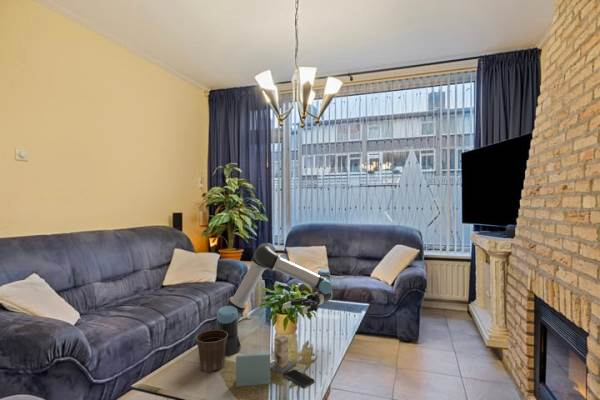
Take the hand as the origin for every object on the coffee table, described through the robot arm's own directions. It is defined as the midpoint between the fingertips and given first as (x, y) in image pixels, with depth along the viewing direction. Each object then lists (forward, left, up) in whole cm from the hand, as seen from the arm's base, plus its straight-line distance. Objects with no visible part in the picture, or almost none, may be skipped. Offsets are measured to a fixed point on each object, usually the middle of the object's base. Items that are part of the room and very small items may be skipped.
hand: (292, 309), depth 186 cm
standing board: (+9, -28, -27) cm, 40 cm away
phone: (+18, -8, -28) cm, 34 cm away
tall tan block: (+3, -9, -26) cm, 28 cm away
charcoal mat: (+3, -9, -27) cm, 29 cm away
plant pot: (-17, -39, -28) cm, 51 cm away
